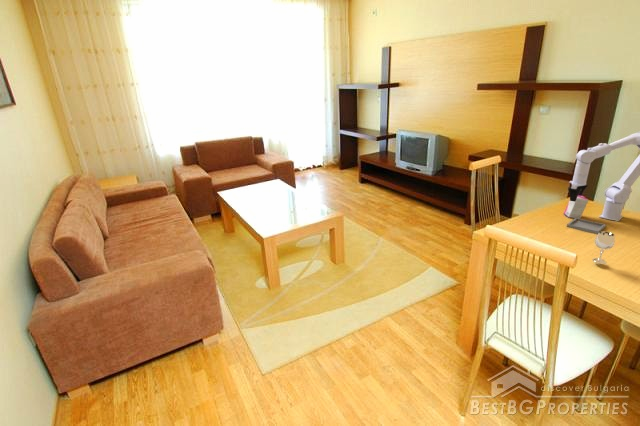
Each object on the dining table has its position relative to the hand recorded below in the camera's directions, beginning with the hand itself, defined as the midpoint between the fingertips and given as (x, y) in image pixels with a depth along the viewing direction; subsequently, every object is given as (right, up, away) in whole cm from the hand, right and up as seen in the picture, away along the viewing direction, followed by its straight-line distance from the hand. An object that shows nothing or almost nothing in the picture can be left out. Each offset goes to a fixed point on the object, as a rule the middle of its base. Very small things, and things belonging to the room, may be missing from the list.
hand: (575, 199), depth 176 cm
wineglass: (-21, -27, -41) cm, 53 cm away
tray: (-2, -14, -9) cm, 17 cm away
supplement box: (0, -9, +3) cm, 10 cm away
